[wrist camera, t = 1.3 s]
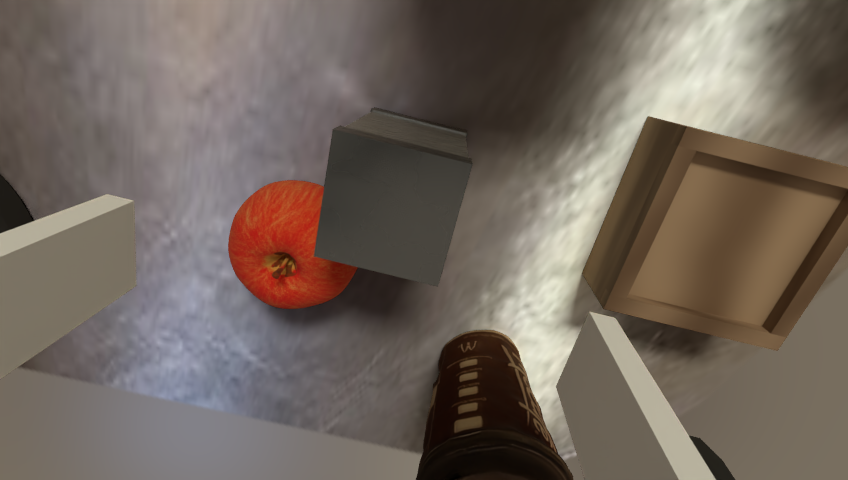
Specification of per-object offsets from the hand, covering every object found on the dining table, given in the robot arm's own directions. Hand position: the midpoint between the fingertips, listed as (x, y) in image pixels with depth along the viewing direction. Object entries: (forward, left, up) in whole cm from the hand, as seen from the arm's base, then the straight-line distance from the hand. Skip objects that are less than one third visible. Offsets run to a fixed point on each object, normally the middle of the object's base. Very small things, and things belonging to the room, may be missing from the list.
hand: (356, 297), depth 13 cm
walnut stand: (+19, +1, -17) cm, 26 cm away
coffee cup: (+8, -14, -18) cm, 24 cm away
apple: (-6, -6, -18) cm, 19 cm away
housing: (0, 0, -17) cm, 17 cm away
